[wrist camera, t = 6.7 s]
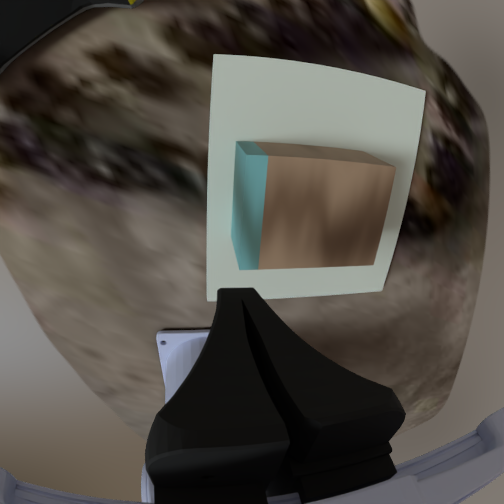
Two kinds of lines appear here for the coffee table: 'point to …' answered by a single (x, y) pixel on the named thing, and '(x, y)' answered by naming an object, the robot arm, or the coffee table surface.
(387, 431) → the robot arm
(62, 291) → the coffee table surface
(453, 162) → the coffee table surface
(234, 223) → the walnut block
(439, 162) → the coffee table surface
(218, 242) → the sage mat
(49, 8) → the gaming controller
